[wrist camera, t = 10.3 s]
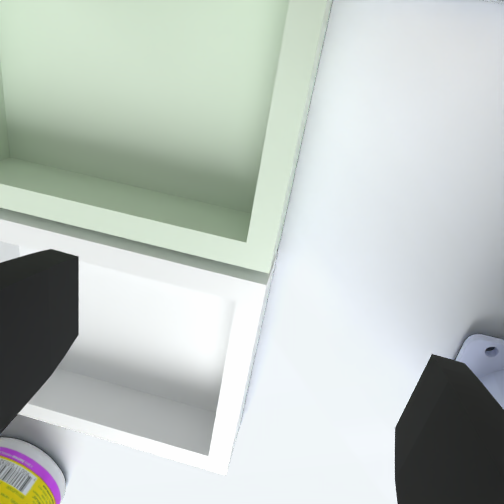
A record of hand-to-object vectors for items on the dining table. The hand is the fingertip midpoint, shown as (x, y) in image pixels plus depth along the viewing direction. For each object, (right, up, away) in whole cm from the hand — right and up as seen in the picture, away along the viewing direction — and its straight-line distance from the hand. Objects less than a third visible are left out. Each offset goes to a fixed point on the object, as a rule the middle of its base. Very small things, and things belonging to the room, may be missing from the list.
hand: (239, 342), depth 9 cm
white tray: (-6, -1, +13) cm, 14 cm away
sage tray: (-4, +9, +8) cm, 12 cm away
